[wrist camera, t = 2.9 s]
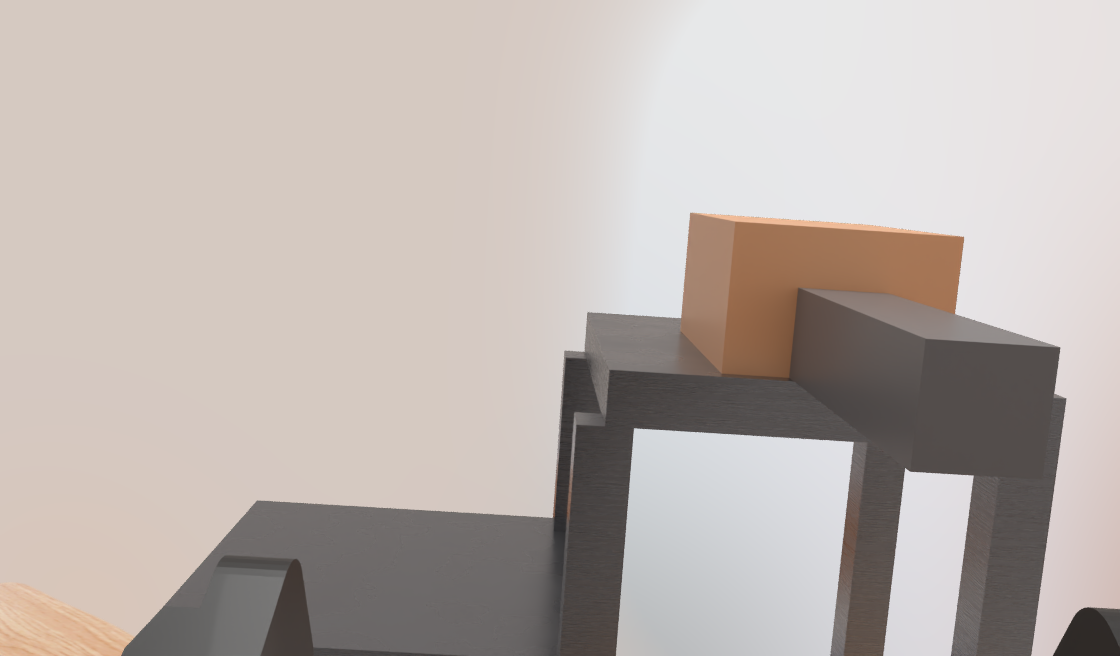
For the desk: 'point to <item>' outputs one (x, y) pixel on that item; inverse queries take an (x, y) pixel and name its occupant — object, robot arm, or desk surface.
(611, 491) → the stepped rack
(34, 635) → the desk surface
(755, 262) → the plug
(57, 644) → the desk surface
